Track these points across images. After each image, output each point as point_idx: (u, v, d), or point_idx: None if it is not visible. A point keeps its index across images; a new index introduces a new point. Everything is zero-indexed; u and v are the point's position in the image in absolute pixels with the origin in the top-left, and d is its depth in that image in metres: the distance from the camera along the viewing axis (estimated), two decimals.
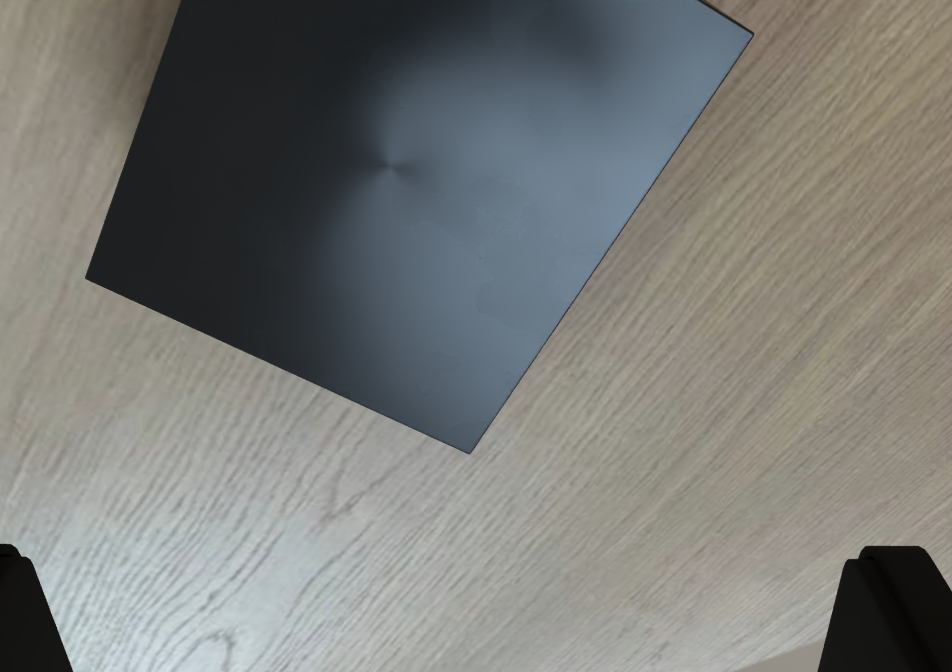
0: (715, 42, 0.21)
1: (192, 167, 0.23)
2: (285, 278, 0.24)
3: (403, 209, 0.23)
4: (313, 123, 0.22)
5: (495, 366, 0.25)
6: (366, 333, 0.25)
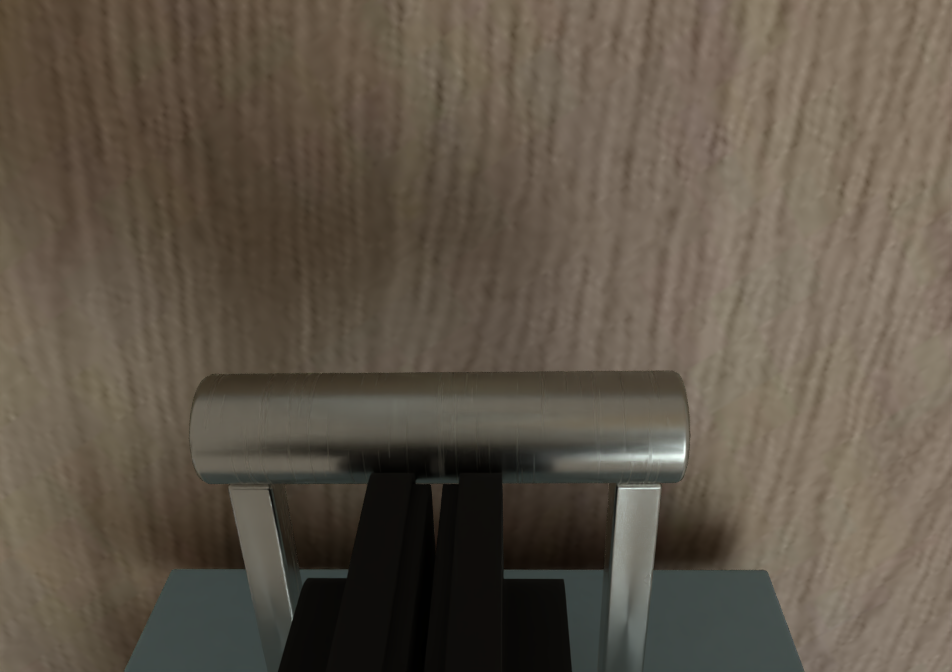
0: None
1: None
2: None
3: None
4: None
5: None
6: None
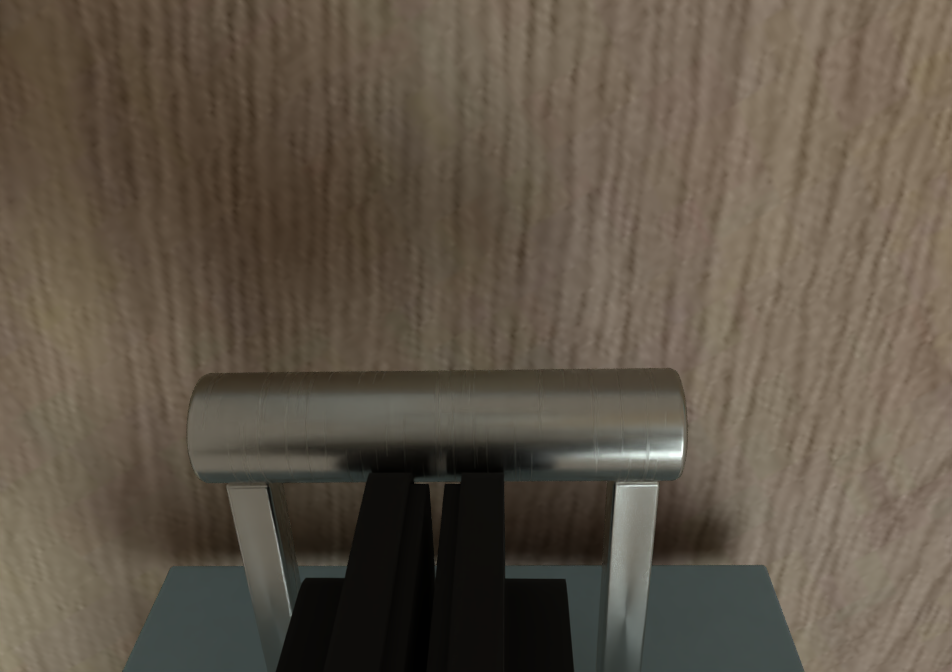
0: None
1: None
2: None
3: None
4: None
5: None
6: None
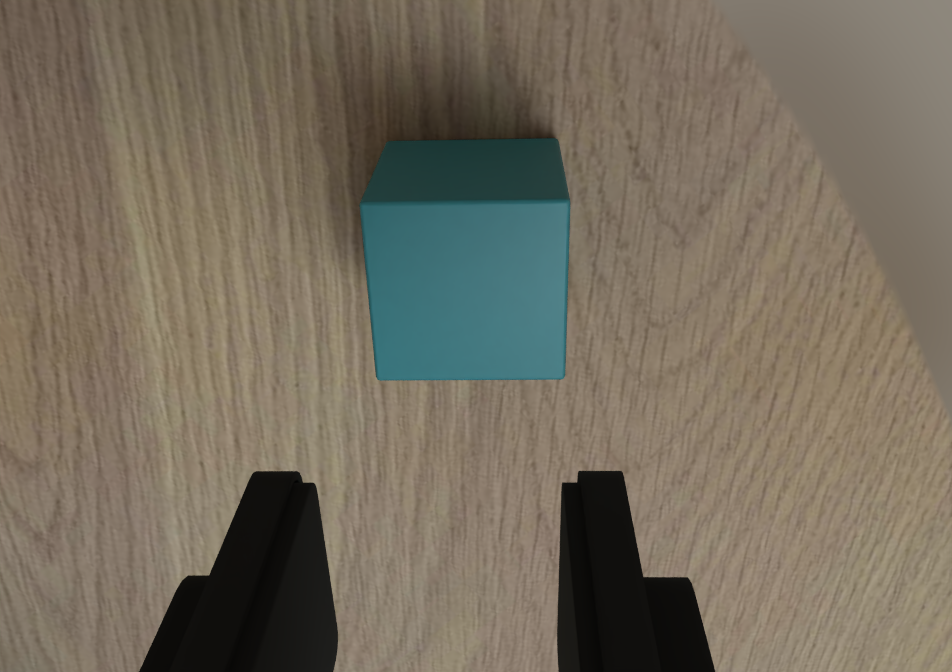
0: None
1: None
2: None
3: None
4: None
5: None
6: None
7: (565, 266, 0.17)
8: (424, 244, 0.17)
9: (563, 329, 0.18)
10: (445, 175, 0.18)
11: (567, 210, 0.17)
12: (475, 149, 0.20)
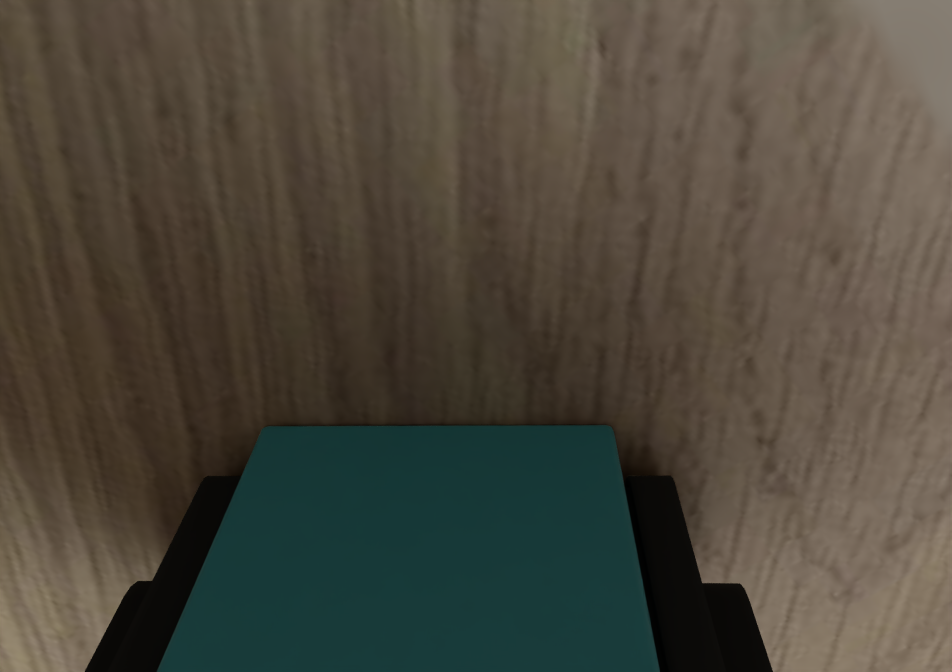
0: None
1: None
2: None
3: None
4: None
5: None
6: None
7: None
8: None
9: None
10: (362, 598, 0.08)
11: None
12: (441, 471, 0.09)
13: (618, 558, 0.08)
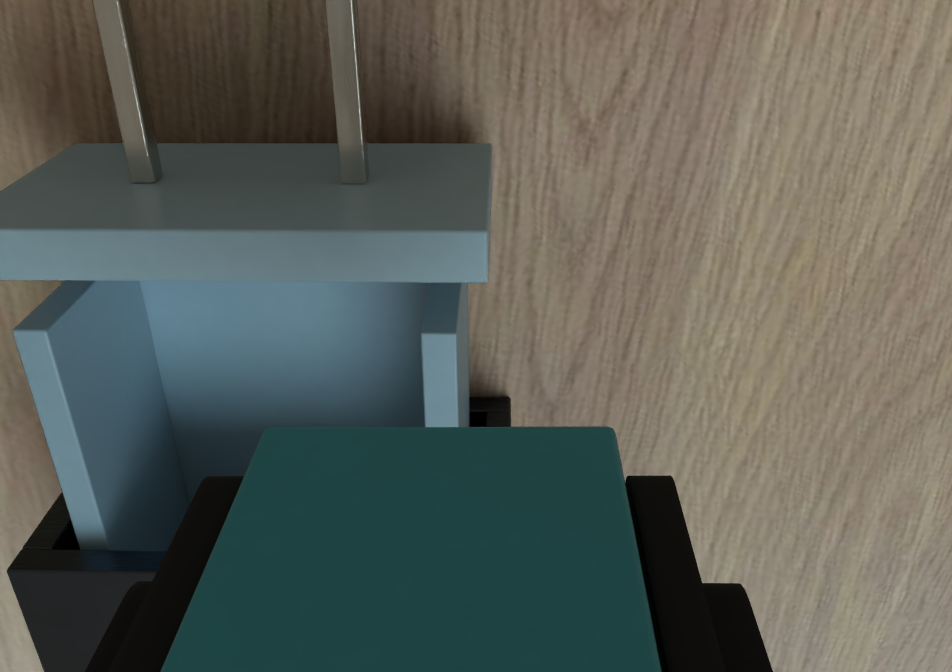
0: None
1: None
2: None
3: None
4: None
5: None
6: None
7: None
8: None
9: None
10: (364, 601, 0.08)
11: None
12: (442, 474, 0.09)
13: (620, 560, 0.08)
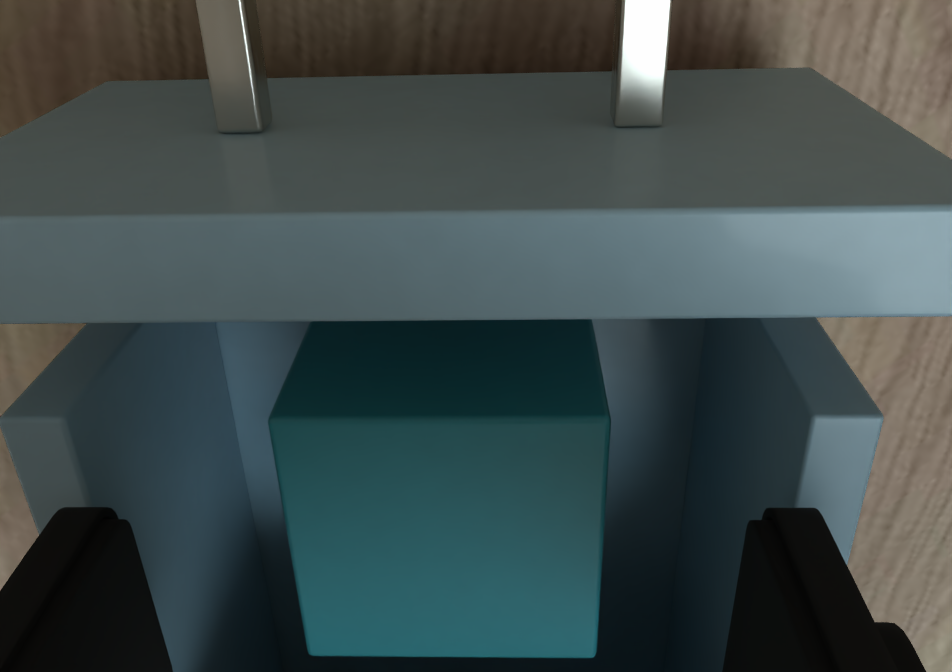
0: None
1: None
2: None
3: None
4: None
5: None
6: None
7: (601, 511, 0.11)
8: (373, 479, 0.11)
9: (594, 595, 0.12)
10: (411, 351, 0.12)
11: (606, 433, 0.10)
12: None
13: (581, 332, 0.12)
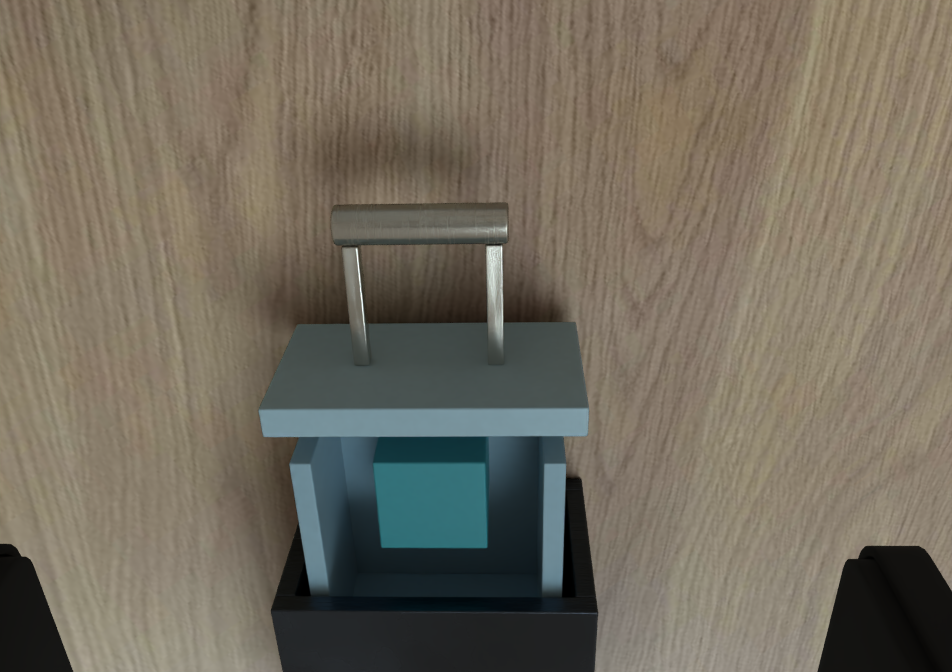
0: (578, 624, 0.33)
1: None
2: None
3: None
4: None
5: None
6: None
7: (484, 493, 0.32)
8: (407, 482, 0.32)
9: (485, 523, 0.32)
10: (419, 437, 0.33)
11: (484, 467, 0.31)
12: None
13: None
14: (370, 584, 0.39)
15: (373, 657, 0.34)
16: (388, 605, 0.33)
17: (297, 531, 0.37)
